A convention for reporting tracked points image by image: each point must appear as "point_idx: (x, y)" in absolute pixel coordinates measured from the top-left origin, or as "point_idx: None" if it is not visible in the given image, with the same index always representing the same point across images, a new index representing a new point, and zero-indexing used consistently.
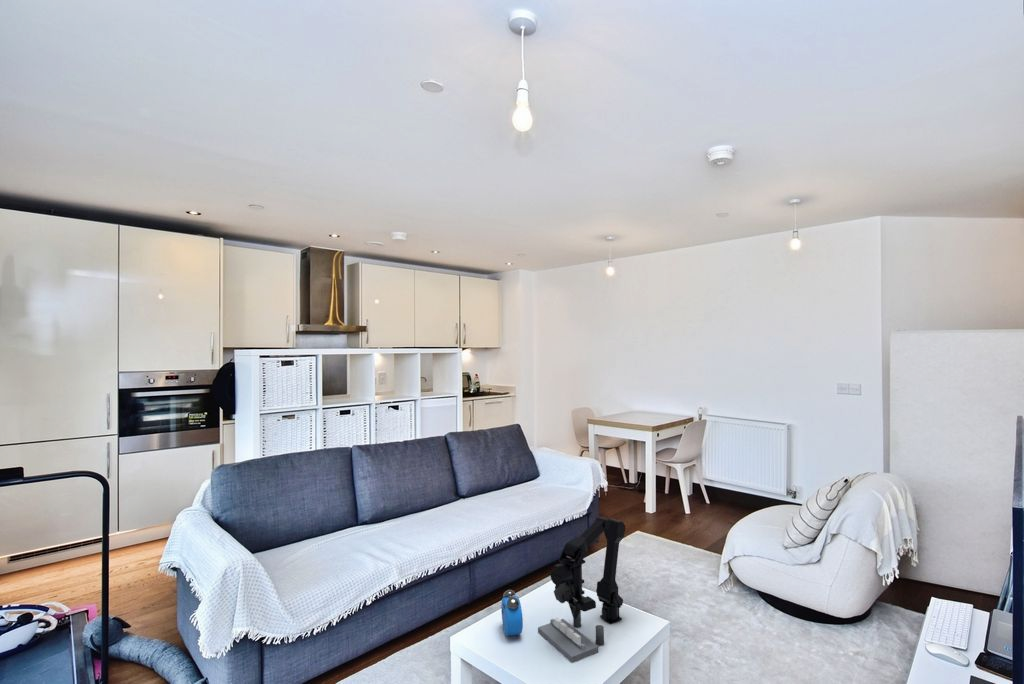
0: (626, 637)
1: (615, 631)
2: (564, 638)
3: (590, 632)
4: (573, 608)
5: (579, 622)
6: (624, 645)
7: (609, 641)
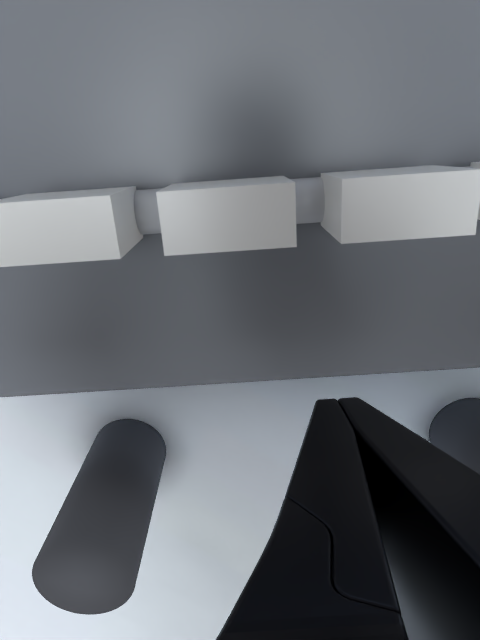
0: (121, 631)
1: (221, 614)
2: (277, 139)
3: None
4: (332, 568)
5: None
6: None
7: None
